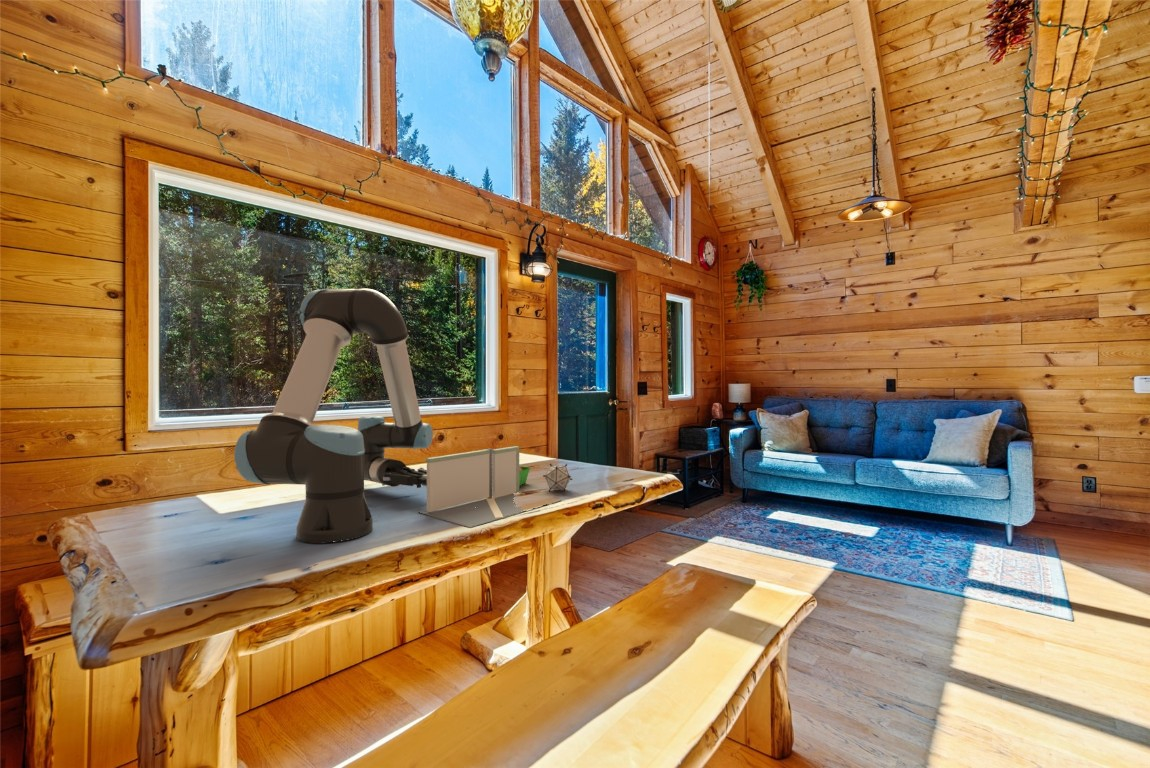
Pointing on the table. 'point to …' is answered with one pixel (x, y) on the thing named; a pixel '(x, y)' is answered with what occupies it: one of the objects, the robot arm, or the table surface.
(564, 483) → the game die
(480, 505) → the board
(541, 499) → the table surface
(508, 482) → the fixed fence panel
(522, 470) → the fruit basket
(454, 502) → the beige flat upright board
